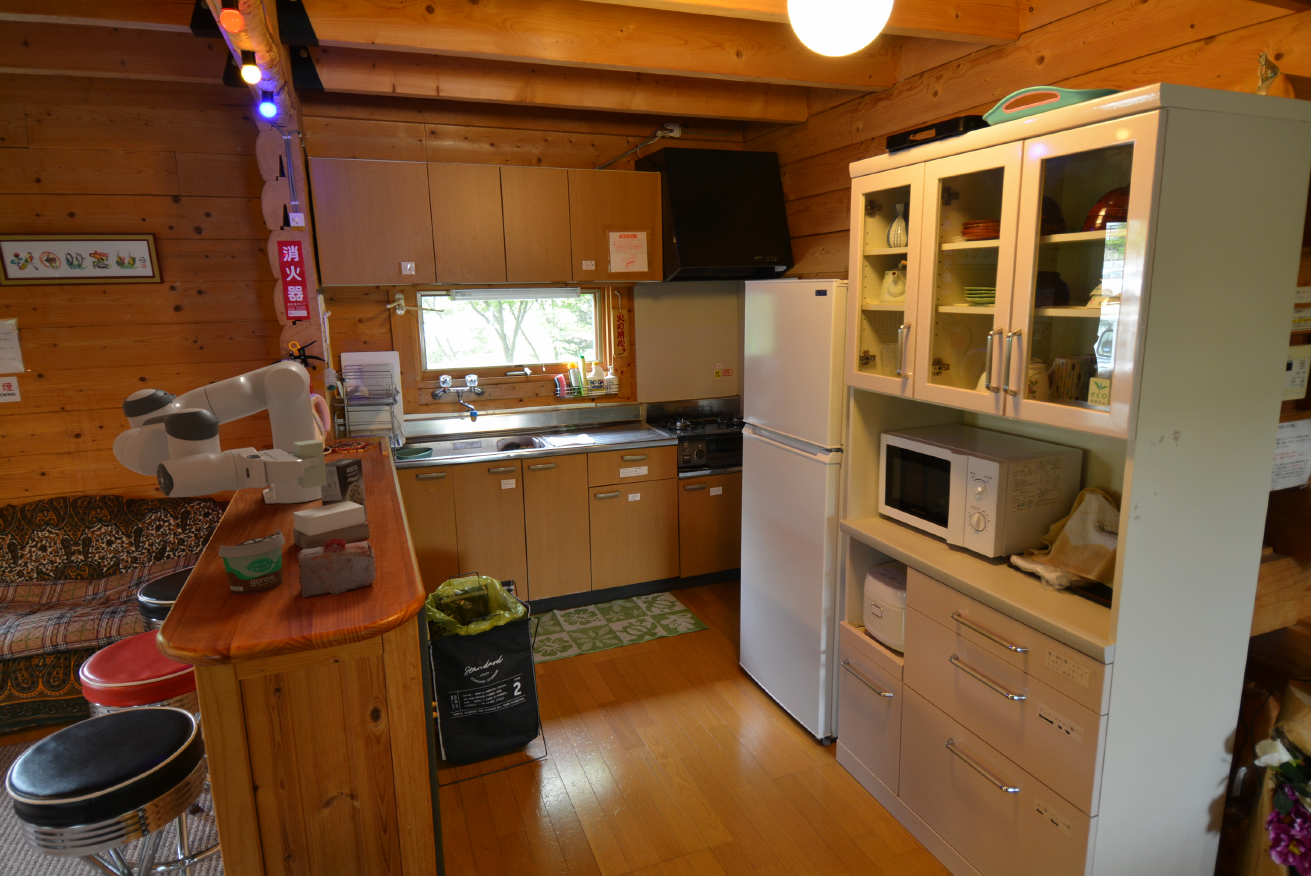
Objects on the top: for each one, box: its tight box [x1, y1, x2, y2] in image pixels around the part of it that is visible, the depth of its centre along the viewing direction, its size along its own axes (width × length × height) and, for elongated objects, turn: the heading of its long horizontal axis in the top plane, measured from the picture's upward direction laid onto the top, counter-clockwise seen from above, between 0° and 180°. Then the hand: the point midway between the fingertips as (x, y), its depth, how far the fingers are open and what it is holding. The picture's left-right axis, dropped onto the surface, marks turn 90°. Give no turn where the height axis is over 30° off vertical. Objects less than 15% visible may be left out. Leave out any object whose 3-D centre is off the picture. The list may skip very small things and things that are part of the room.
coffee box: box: [321, 458, 368, 521], centre depth 186 cm, size 9×6×16 cm
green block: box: [293, 439, 327, 489], centre depth 172 cm, size 5×5×10 cm
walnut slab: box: [292, 521, 371, 550], centre depth 175 cm, size 9×14×4 cm, turn 134°
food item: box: [296, 538, 376, 599], centre depth 144 cm, size 14×8×10 cm, turn 116°
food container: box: [218, 528, 286, 595], centre depth 145 cm, size 12×6×10 cm, turn 148°
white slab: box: [292, 501, 366, 536], centre depth 174 cm, size 8×13×4 cm, turn 137°
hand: (313, 458), depth 172 cm, fingers closed on green block, 5 cm apart
